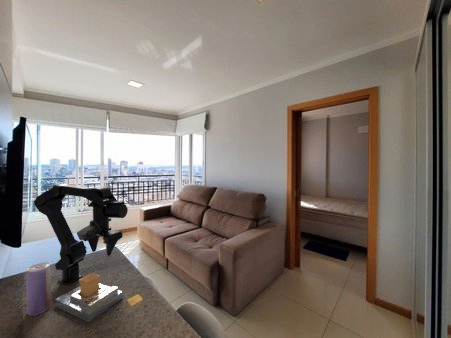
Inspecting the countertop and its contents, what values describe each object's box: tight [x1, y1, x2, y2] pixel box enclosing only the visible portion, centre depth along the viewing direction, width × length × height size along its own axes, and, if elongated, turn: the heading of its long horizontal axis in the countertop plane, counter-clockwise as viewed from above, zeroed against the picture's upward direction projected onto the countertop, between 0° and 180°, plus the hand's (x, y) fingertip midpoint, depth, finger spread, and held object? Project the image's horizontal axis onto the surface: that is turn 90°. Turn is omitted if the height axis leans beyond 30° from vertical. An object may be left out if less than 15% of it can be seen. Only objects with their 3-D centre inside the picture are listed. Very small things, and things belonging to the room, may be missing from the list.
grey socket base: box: [54, 283, 123, 323], centre depth 70 cm, size 18×12×4 cm, turn 68°
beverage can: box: [25, 262, 52, 317], centre depth 66 cm, size 6×6×15 cm
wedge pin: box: [78, 272, 101, 298], centre depth 70 cm, size 5×5×9 cm
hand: (101, 253), depth 82 cm, fingers open, 9 cm apart
